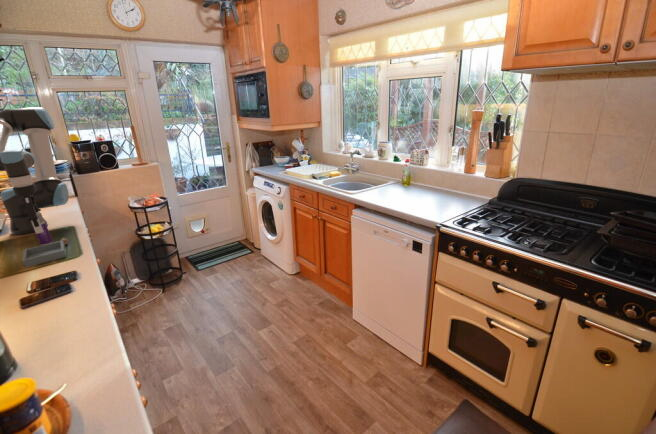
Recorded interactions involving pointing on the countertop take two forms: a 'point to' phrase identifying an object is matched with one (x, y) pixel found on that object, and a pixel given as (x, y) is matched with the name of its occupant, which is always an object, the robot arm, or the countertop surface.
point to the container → (44, 236)
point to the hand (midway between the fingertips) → (40, 228)
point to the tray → (43, 253)
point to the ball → (64, 240)
